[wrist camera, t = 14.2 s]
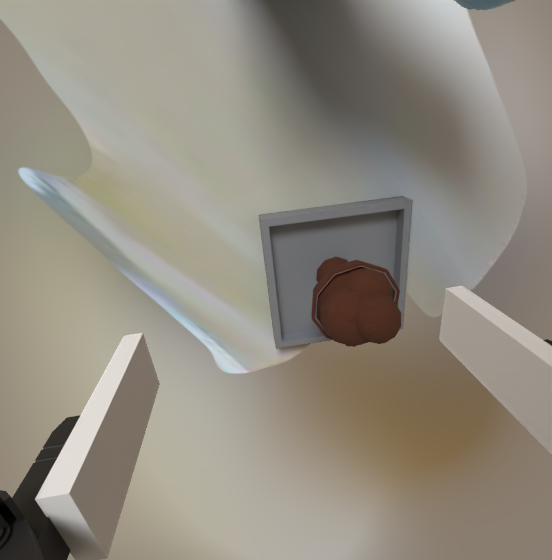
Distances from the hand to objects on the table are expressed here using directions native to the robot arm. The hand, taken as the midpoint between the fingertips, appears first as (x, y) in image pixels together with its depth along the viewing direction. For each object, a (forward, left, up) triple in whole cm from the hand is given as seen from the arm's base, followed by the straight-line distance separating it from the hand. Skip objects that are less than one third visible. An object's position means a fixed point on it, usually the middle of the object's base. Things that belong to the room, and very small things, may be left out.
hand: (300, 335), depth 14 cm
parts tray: (+12, +10, -32) cm, 35 cm away
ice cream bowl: (+12, +10, -31) cm, 35 cm away
